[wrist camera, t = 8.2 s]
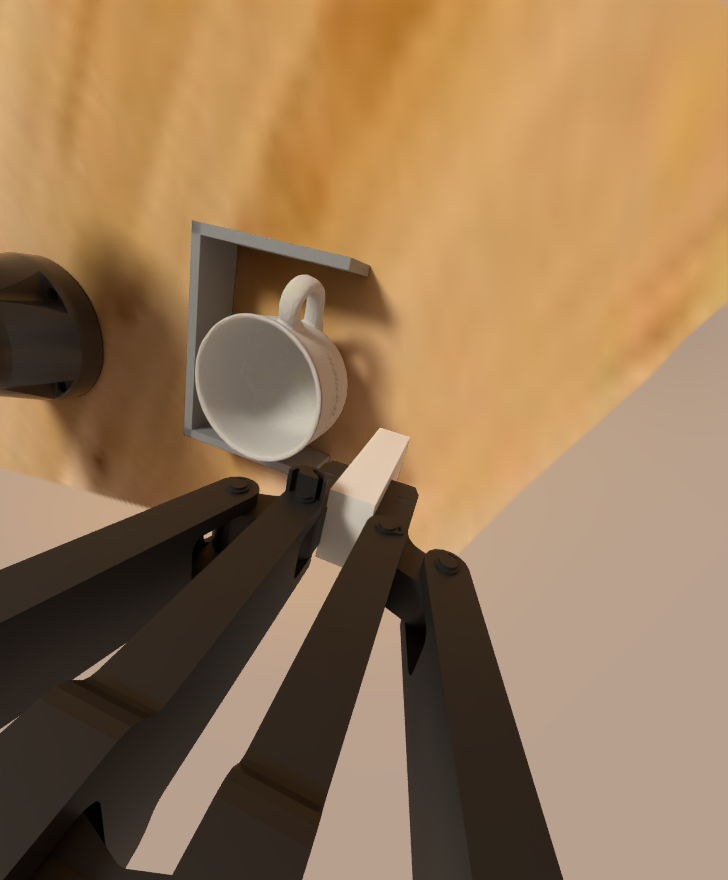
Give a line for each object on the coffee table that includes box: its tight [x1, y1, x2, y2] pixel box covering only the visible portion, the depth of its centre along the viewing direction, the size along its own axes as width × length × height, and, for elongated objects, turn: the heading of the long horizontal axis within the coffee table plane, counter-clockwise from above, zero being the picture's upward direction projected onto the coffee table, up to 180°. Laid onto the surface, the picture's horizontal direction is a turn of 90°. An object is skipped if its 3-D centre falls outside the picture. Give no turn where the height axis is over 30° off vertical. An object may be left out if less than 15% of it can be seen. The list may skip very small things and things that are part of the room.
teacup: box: [195, 275, 348, 462], centre depth 29 cm, size 14×11×8 cm
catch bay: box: [184, 221, 370, 474], centre depth 31 cm, size 13×18×4 cm
